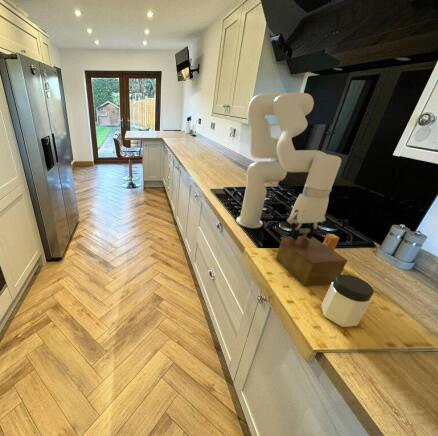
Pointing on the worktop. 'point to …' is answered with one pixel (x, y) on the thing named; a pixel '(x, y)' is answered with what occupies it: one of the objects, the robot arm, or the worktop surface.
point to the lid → (313, 249)
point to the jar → (347, 300)
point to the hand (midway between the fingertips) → (300, 236)
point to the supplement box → (331, 241)
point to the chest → (307, 267)
